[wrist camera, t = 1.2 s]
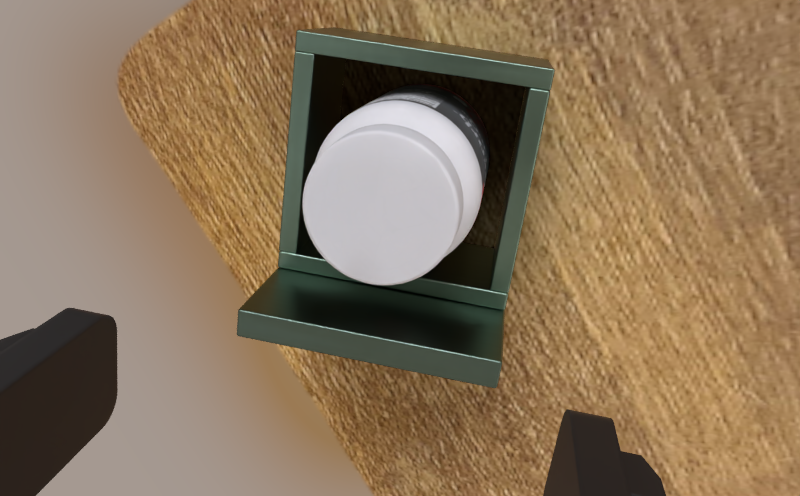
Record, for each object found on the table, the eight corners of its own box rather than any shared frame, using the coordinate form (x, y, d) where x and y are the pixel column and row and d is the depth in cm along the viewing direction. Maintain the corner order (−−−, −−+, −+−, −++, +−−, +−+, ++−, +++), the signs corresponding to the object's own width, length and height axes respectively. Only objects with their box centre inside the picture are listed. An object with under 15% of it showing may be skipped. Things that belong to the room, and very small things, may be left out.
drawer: (333, 27, 28) (254, 33, 20) (548, 59, 27) (561, 80, 19) (311, 250, 32) (236, 336, 23) (502, 286, 31) (496, 389, 22)
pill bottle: (495, 211, 30) (484, 302, 20) (366, 219, 31) (300, 309, 21) (485, 74, 28) (468, 104, 19) (349, 88, 29) (268, 123, 20)
